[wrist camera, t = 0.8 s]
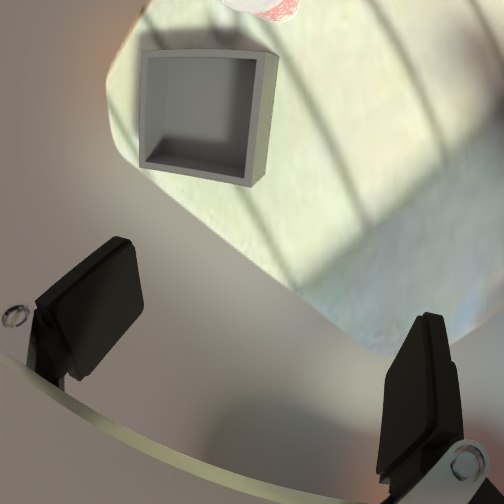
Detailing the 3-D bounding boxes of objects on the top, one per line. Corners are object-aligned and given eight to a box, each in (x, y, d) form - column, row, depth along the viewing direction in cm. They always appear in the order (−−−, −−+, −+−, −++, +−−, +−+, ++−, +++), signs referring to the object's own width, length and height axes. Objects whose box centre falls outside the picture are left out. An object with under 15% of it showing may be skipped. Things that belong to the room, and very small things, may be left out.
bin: (167, 52, 32) (142, 51, 28) (279, 56, 29) (266, 52, 25) (162, 157, 39) (139, 167, 35) (264, 174, 36) (251, 187, 32)
